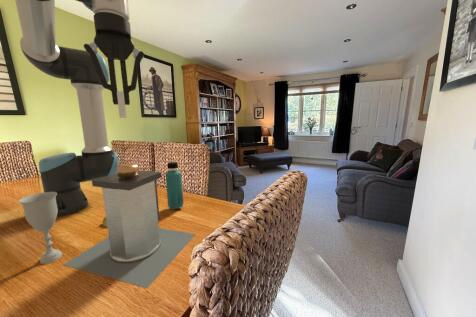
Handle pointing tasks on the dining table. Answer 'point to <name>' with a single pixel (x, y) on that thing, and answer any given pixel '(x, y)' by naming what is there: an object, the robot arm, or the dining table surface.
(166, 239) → the slate mat
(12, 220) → the dining table surface
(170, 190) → the beverage bottle
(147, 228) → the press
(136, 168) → the plunger
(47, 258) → the chalice
